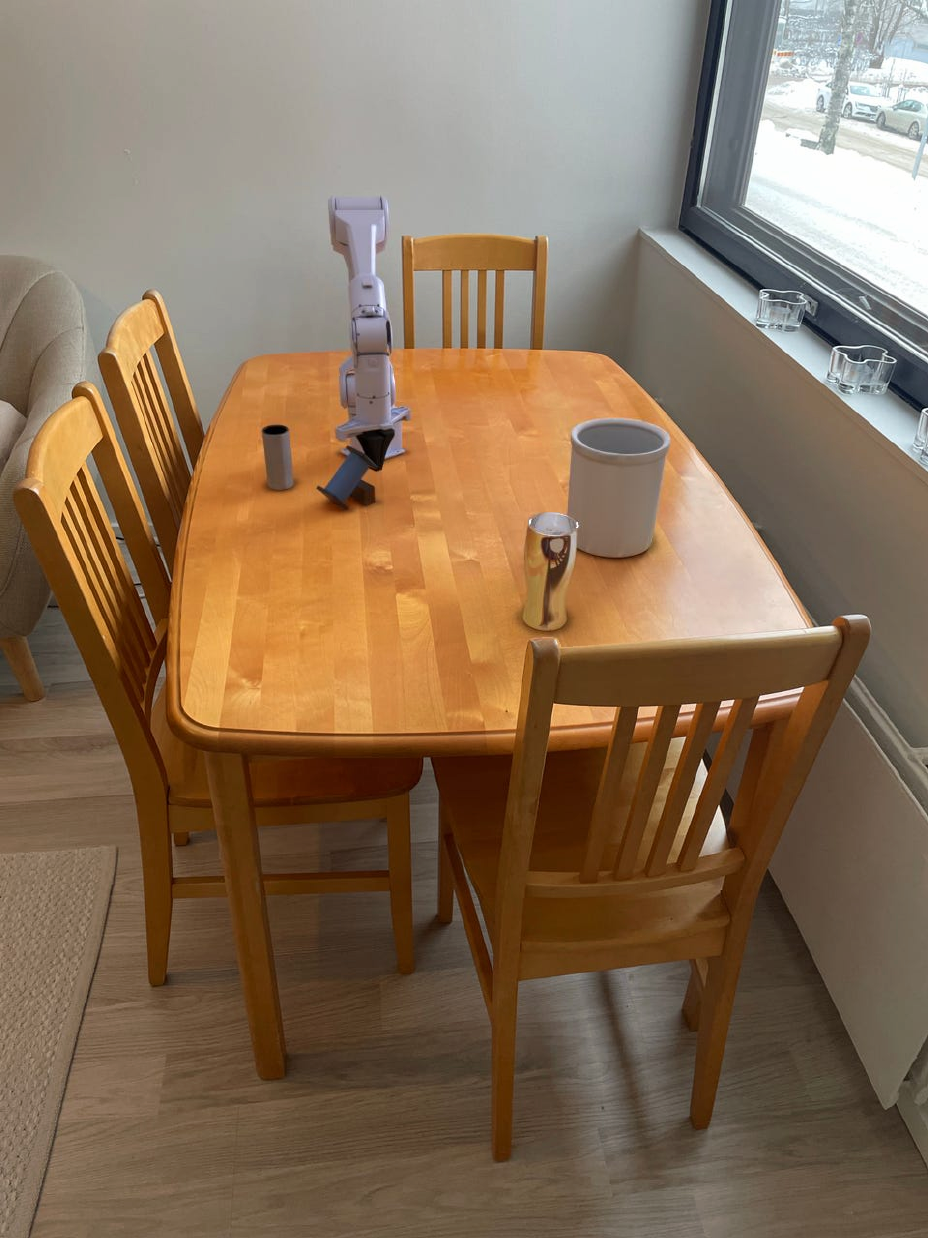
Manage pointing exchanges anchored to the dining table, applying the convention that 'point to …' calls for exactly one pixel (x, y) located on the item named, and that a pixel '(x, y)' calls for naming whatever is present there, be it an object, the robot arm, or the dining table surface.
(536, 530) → the beer glass
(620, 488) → the utensil holder
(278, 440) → the grey hollow cylinder
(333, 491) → the spool
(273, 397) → the dining table surface
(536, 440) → the dining table surface
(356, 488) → the block
